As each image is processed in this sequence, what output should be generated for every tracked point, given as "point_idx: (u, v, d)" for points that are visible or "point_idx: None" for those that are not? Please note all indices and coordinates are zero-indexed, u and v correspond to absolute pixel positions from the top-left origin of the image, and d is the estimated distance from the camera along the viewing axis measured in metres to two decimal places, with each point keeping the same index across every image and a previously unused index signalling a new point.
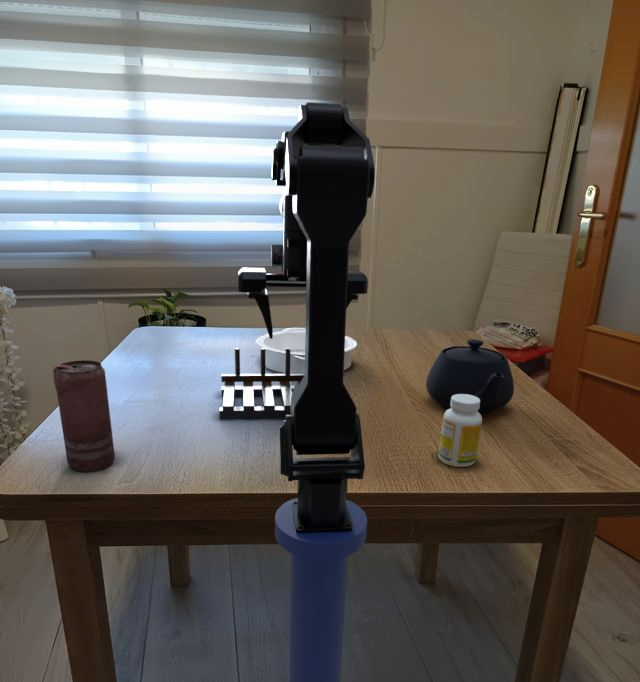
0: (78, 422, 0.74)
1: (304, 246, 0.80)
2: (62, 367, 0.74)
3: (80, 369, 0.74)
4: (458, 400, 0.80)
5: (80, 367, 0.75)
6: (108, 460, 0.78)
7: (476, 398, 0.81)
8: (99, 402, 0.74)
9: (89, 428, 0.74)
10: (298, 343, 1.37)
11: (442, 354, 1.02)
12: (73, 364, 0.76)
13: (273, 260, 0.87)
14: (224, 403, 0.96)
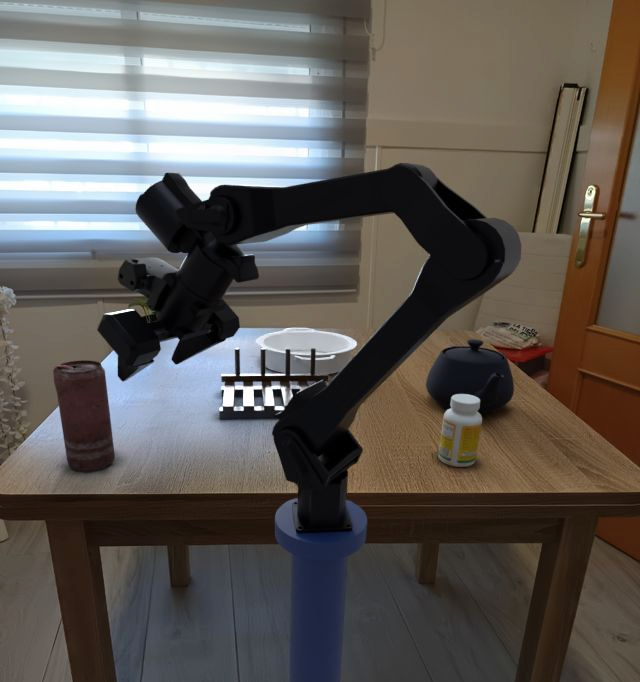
0: (78, 422, 0.74)
1: (209, 312, 0.66)
2: (62, 367, 0.74)
3: (80, 369, 0.74)
4: (459, 400, 0.80)
5: (80, 367, 0.75)
6: (108, 460, 0.78)
7: (476, 398, 0.81)
8: (99, 402, 0.74)
9: (89, 428, 0.74)
10: (298, 343, 1.37)
11: (442, 354, 1.02)
12: (73, 364, 0.76)
13: (135, 288, 0.65)
14: (224, 403, 0.96)
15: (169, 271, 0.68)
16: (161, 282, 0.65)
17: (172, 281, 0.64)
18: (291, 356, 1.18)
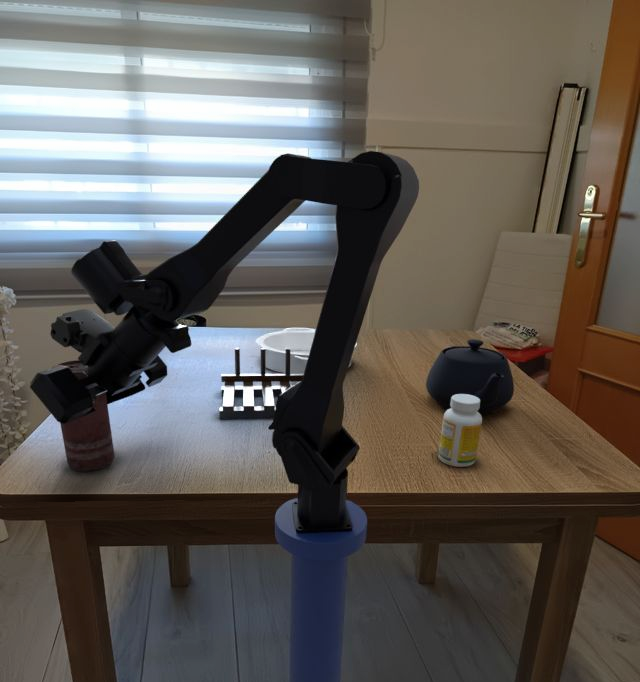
0: (77, 422, 0.74)
1: (141, 371, 0.70)
2: None
3: (77, 369, 0.74)
4: (459, 400, 0.80)
5: (77, 367, 0.74)
6: (108, 459, 0.78)
7: (476, 398, 0.81)
8: (97, 402, 0.74)
9: (87, 428, 0.74)
10: (298, 343, 1.37)
11: (442, 354, 1.02)
12: (70, 364, 0.75)
13: (69, 345, 0.68)
14: (224, 403, 0.96)
15: (101, 326, 0.71)
16: (95, 341, 0.68)
17: (106, 342, 0.68)
18: (291, 356, 1.18)
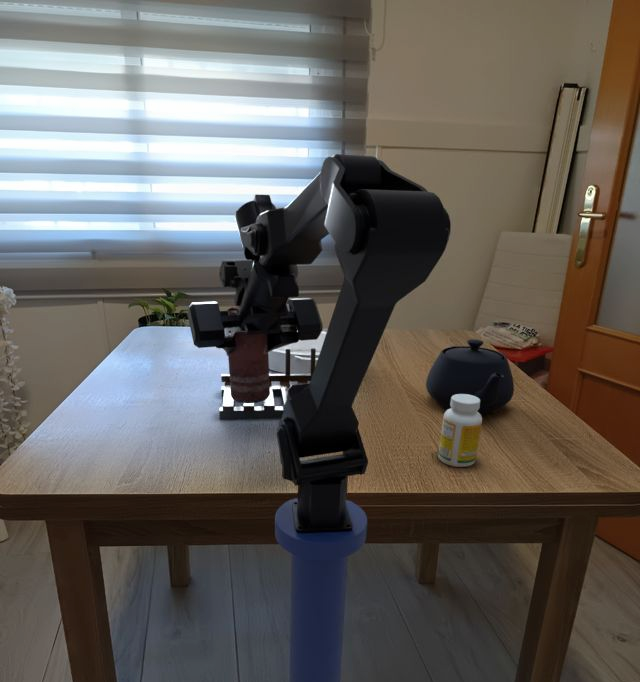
0: (233, 356, 0.86)
1: (269, 316, 0.76)
2: (235, 308, 0.86)
3: None
4: (459, 400, 0.80)
5: None
6: (256, 397, 0.87)
7: (476, 398, 0.81)
8: (251, 343, 0.84)
9: (240, 363, 0.85)
10: (298, 343, 1.37)
11: (442, 354, 1.02)
12: None
13: (225, 285, 0.80)
14: (224, 403, 0.96)
15: None
16: (241, 284, 0.78)
17: (245, 285, 0.76)
18: (291, 356, 1.18)
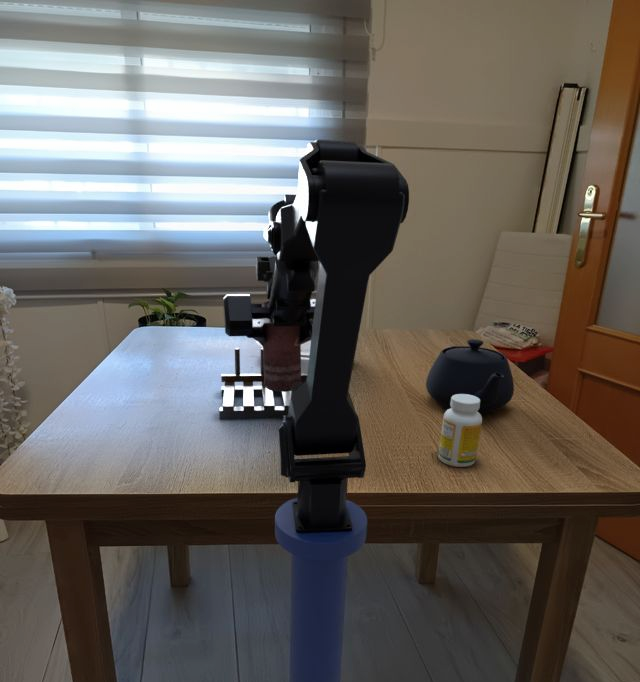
0: (266, 346, 0.91)
1: (292, 309, 0.81)
2: None
3: None
4: (459, 400, 0.80)
5: None
6: (285, 386, 0.92)
7: (476, 398, 0.81)
8: (282, 334, 0.89)
9: (271, 353, 0.91)
10: None
11: (442, 354, 1.02)
12: None
13: (258, 279, 0.85)
14: (224, 403, 0.96)
15: None
16: (271, 278, 0.83)
17: None
18: None
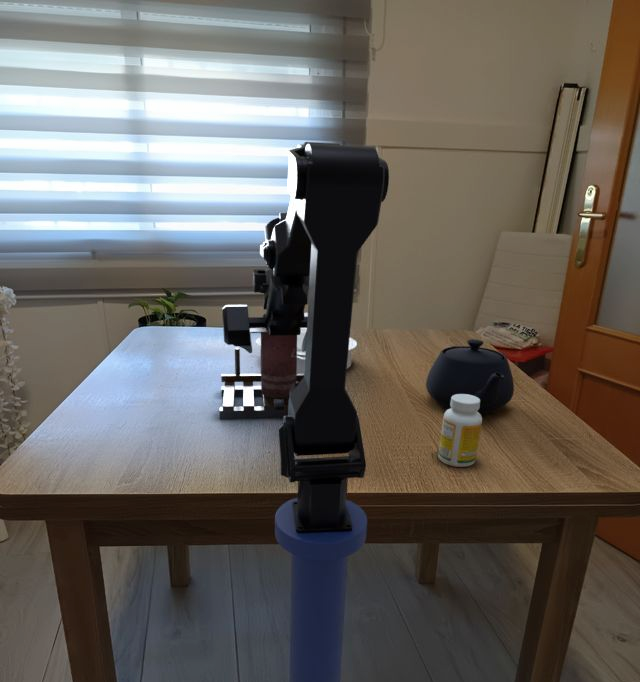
0: (264, 357, 0.96)
1: (287, 320, 0.86)
2: None
3: None
4: (458, 400, 0.80)
5: None
6: (281, 394, 0.98)
7: (476, 398, 0.81)
8: (279, 346, 0.94)
9: (269, 363, 0.96)
10: (298, 343, 1.37)
11: (442, 354, 1.02)
12: None
13: (255, 291, 0.90)
14: (224, 403, 0.96)
15: None
16: (267, 290, 0.88)
17: None
18: None
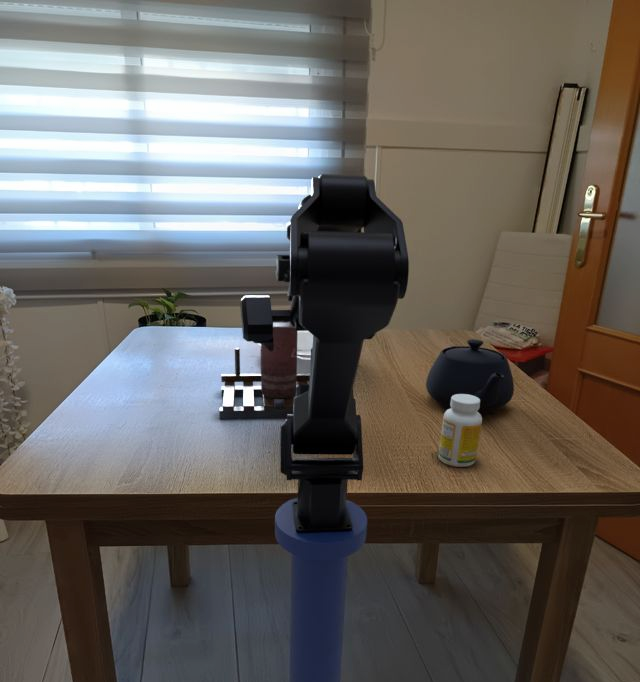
0: (264, 357, 0.96)
1: None
2: None
3: None
4: (458, 400, 0.80)
5: None
6: (281, 394, 0.98)
7: (476, 398, 0.81)
8: (279, 346, 0.94)
9: (269, 363, 0.96)
10: (298, 343, 1.37)
11: (442, 354, 1.02)
12: None
13: (279, 279, 0.78)
14: (224, 403, 0.96)
15: None
16: None
17: None
18: None
